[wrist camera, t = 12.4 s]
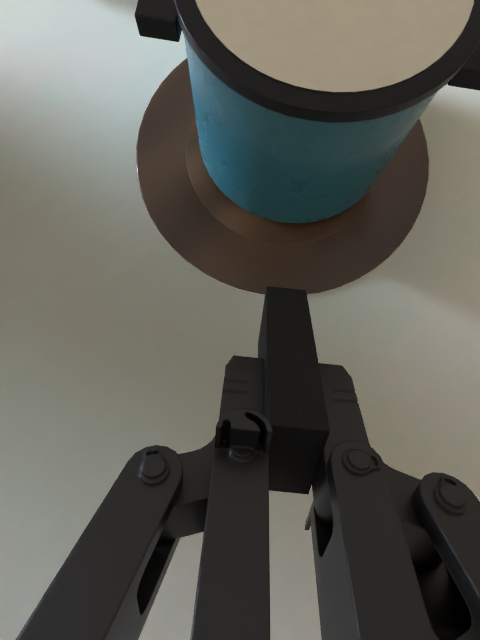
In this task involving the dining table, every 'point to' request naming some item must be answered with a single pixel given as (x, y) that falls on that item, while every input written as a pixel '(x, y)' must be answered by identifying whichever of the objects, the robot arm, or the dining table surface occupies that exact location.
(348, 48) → the pot
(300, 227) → the plate
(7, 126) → the dining table surface
